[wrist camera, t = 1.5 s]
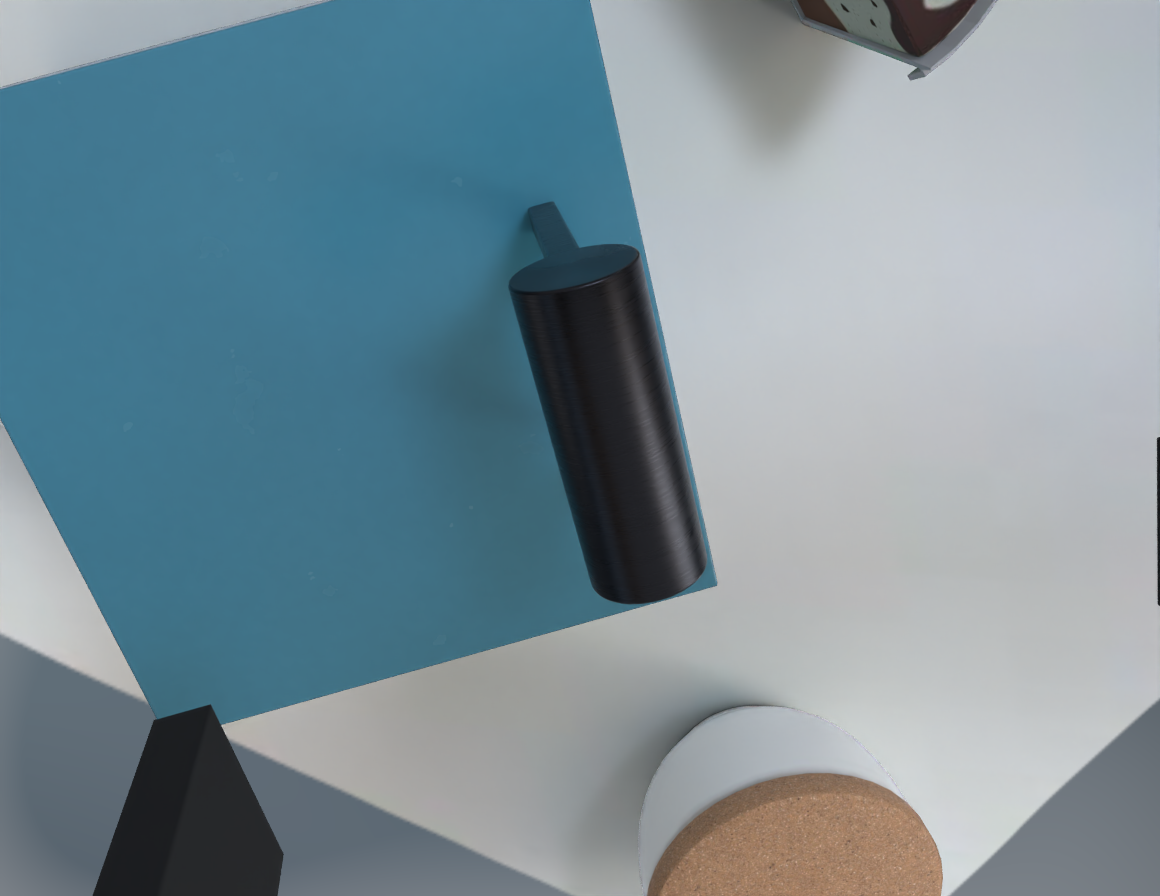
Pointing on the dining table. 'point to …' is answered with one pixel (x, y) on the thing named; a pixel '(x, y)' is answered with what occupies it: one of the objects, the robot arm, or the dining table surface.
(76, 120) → the freezer lid
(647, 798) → the lidded bowl
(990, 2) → the food container
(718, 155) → the dining table surface
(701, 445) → the dining table surface
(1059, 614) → the dining table surface
